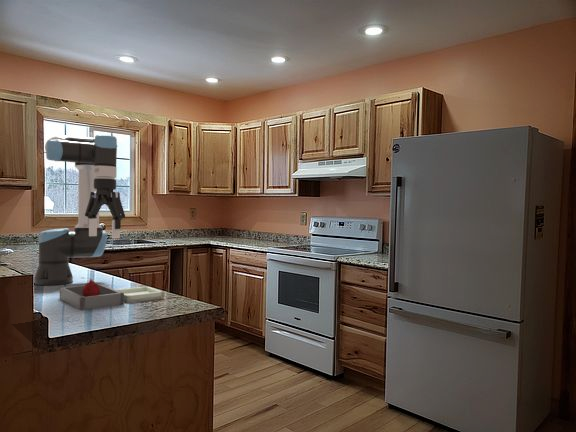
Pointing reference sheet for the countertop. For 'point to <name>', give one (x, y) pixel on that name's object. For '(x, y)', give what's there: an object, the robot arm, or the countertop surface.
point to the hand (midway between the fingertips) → (104, 237)
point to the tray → (141, 294)
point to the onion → (91, 289)
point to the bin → (91, 297)
